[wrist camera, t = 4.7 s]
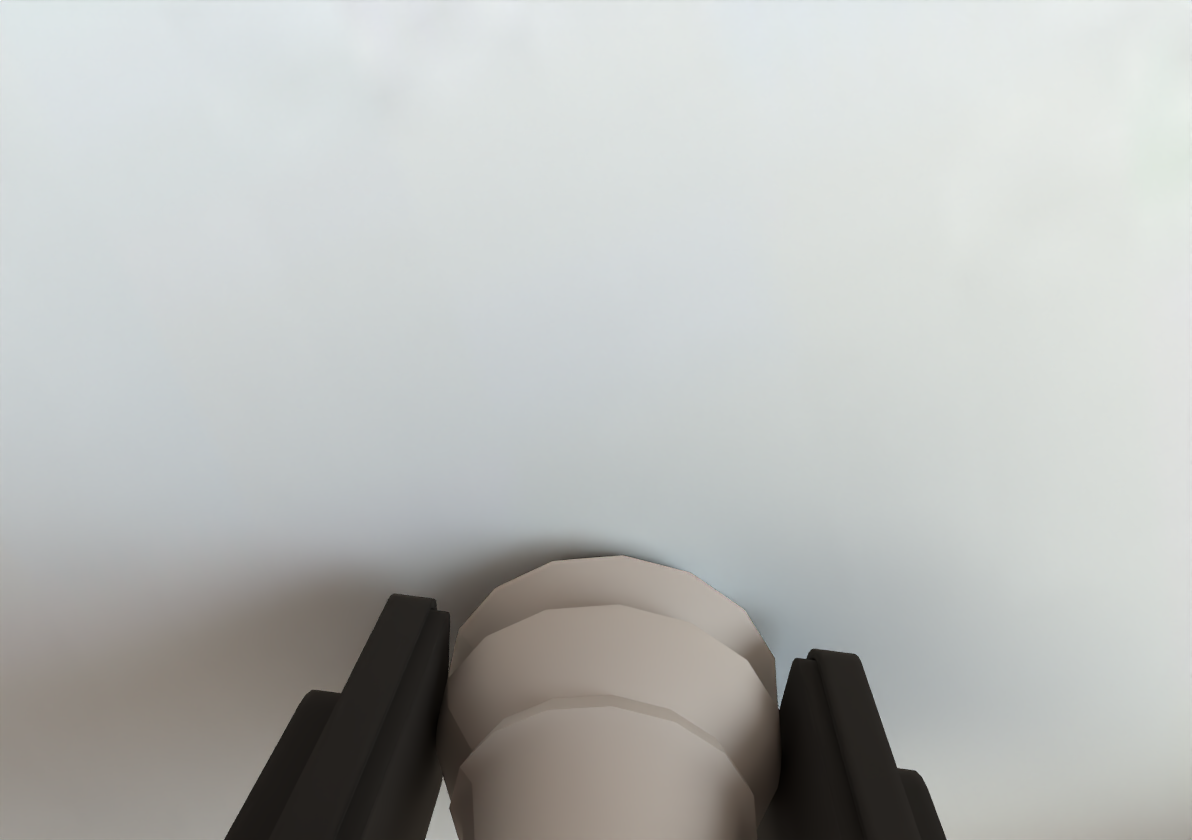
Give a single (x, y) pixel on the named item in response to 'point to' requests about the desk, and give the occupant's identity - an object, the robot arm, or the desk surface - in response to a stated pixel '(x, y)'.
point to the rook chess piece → (609, 709)
